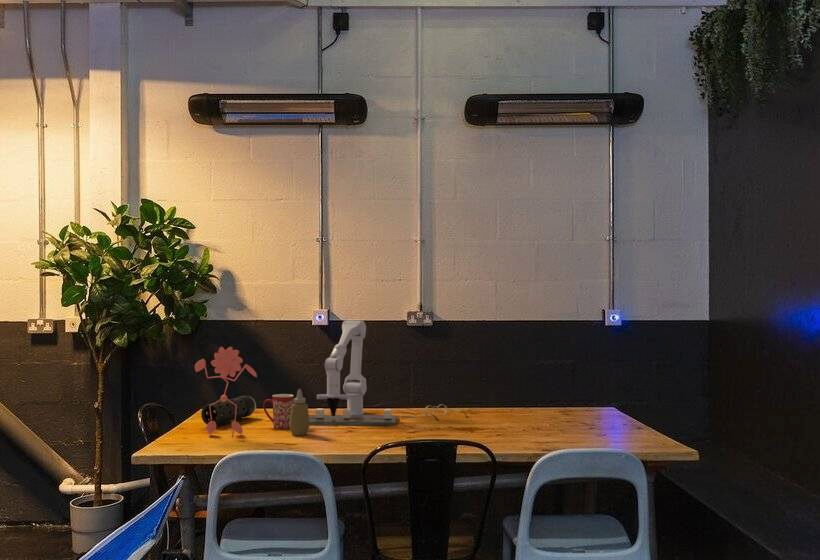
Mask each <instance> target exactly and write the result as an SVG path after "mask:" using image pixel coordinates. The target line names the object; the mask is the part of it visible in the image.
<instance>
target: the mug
mask: <svg viewBox="0 0 820 560" xmlns="http://www.w3.org/2000/svg"><path fill="white" fill-rule="evenodd" d="M267 402H269V403H271V407H272V415H273V417H271V415H270V414H269V412H268V411H267V407H266V404H267ZM292 404H294V395H293V394H291V393H289V394H288V393H280V394H273V395H272V399H270V398H268V399H265V400H264V401H263V406H262V408H263V411H264V413H265V415H266V416H267V418H269V420H270V421H271V423H272V424H273V425H272V426H273V428H274V429H278V430H284V429H290V427H289V423H290V413H291V405H292Z"/></svg>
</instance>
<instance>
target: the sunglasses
mask: <svg viewBox="0 0 820 560" xmlns="http://www.w3.org/2000/svg"><path fill="white" fill-rule="evenodd" d="M440 406H444V408H445V410H444V413H443V415H446V414H447V411H448V410H449V411H453V412H458V413H463V414H464V415H465V418H466V419H468V418H469V417H468V415H467V413H466V412H465V411H462V410H458V409H453V408H448V407H447V405H445V404H443V403H441V404H439V405H438V406H432V405H430V407H431V408H432V410H433V411H432V413H431V412H430V413H429V412H427V409H428V408H429V405H426V407H425V408H424V410H421V411H422V413H424V415H425V417H426V416H427V417H428V416H429V415H430V416H433V417H434V418H435V420H436V421H437V422H440V420H439V419H438V418H437V417H436V415H435V414H434V413H435V408H436V412H437V414H438V415H439V416H440V413H439V407H440Z"/></svg>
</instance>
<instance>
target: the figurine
mask: <svg viewBox="0 0 820 560" xmlns="http://www.w3.org/2000/svg"><path fill="white" fill-rule="evenodd" d="M233 348H234V347H233V346H229V347H227V348H226V349H225V348H224V347H223V346H220V347H219V349H218V352H214V355H213V356H214V359H213V360H211V361H210V364H211V366H213V367H215V368H214V373H215V374H220V375H215V376H208V370H207V366H206V363H207V362H206V360H205V358H202V359H199V360H198V361H197V362H196V363H195V364H194V370H195V372H196V373H197V372H200V371H202V370H203V369H204V370H205V371H204V372H205V376H206V379H215V378H220V379H222V380H224V381H225V382H226V384H225V389H224V394H221V396H220V398H219V399H218V400H217V401H215V402H212V403H213V404H215V403H216V402H220V401H223V402H225V401H227V400H228V401H230V399H229V398H228V396H227V394H226V393H227V389H228V385H229V381H232V382H236V381H237V380H238V377H239V376H240V375H241V374H242V372H244V370H245V369H246V371H247V372H248V373H249V374H251V375H252V376H253V377H255V378H257V377H258V375H257V372H256V370H255V369H254V368H253V367H252V366H251V365H248V364H247V363H245V364H244V366H243V367H241V364H242V363H243V362H244V360H243V358H242V357H240V356H239V354H240V350H238V349H233ZM237 372H239V373H238V374H237V375H236V373H237ZM228 375H229V376H230V377H231V378H230V377H227V376H228ZM235 376H236V377H235ZM234 377H235V378H234ZM232 378H233V379H232ZM228 380H229V381H228ZM230 402H231V401H230ZM231 403H233V402H231ZM210 404H211V403H210ZM213 404H211V405H213ZM233 404H234V403H233ZM211 405H210V406H211ZM234 405H236V404H234ZM210 406H209V408H210ZM236 410H237V406H236ZM210 416H211V409H210ZM205 428H206V432H207V433H208V434H209V435H208V438H211V435H212V433H214V432H217V430H216V429H217V426H216V423H215V422H214V421H213V422H212V416H211V422H209V423H208V425H207V424H206V427H205ZM231 428H232V430H228V432H232V433H231V438H234V436H235V435H234V434H235V432H236V433H238V434H240V435H242V434H243V432H244V431H243V426H242V425H241V424H240V423H239V422H238V421H236V411H235V420H233V421H231ZM247 438H249V436H247Z"/></svg>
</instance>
